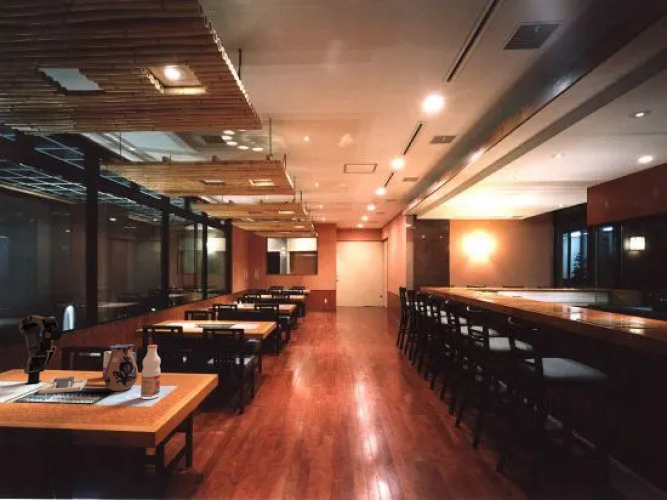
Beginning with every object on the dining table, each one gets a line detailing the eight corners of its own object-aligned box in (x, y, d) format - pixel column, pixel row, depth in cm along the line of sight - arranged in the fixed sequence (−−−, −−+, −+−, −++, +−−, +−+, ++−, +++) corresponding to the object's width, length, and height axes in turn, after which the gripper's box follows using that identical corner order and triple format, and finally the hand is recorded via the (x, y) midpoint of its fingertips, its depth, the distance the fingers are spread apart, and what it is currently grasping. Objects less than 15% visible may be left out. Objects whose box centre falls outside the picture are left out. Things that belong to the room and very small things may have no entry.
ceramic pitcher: (111, 395, 220) (114, 349, 221) (95, 388, 232) (97, 345, 234) (143, 388, 234) (145, 345, 235) (125, 382, 246) (127, 341, 248)
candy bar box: (121, 377, 256) (122, 351, 257) (114, 379, 252) (115, 353, 253) (109, 375, 261) (110, 350, 262) (102, 377, 256) (103, 351, 257)
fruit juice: (139, 396, 219) (141, 344, 221) (157, 393, 224) (159, 343, 226) (141, 400, 211) (144, 347, 213) (160, 398, 217) (163, 346, 218)
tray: (47, 385, 236) (48, 378, 236) (86, 383, 243) (87, 375, 243) (38, 394, 220) (38, 385, 220) (80, 390, 227) (80, 382, 227)
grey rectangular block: (56, 386, 232) (56, 377, 232) (73, 384, 235) (74, 376, 235) (53, 388, 227) (53, 379, 228) (71, 387, 230) (72, 378, 231)
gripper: (35, 337, 242) (34, 363, 241) (24, 342, 225) (22, 370, 224) (57, 336, 246) (55, 361, 245) (47, 341, 229) (46, 368, 228)
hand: (45, 365), depth 236 cm, fingers open, 9 cm apart
